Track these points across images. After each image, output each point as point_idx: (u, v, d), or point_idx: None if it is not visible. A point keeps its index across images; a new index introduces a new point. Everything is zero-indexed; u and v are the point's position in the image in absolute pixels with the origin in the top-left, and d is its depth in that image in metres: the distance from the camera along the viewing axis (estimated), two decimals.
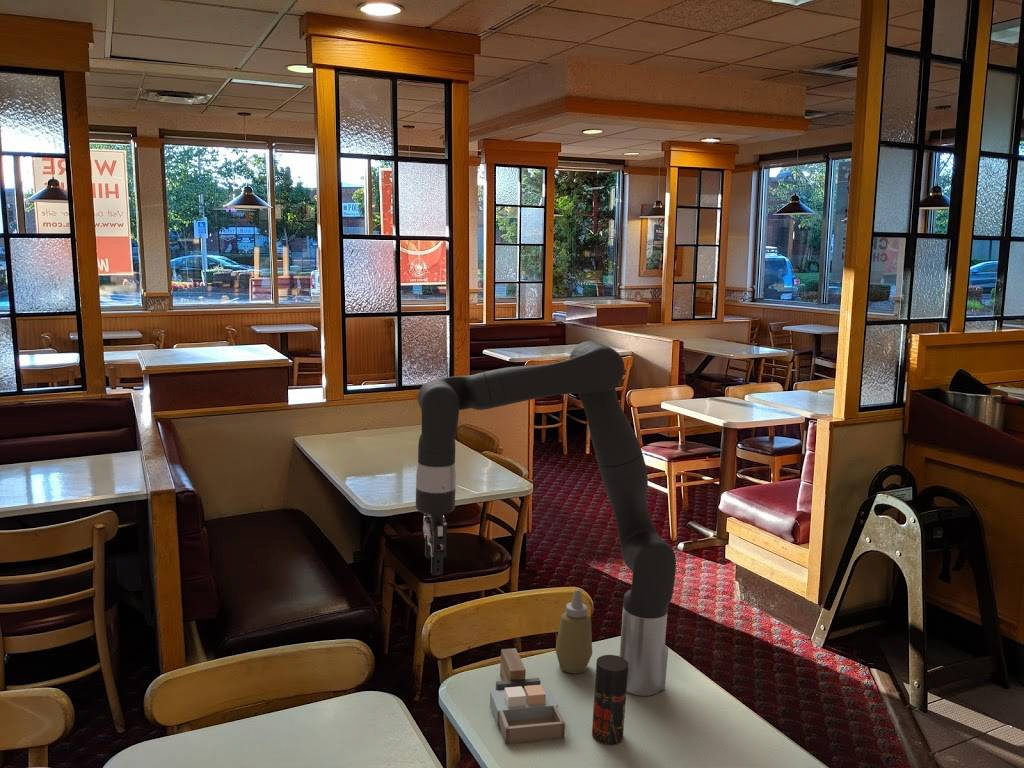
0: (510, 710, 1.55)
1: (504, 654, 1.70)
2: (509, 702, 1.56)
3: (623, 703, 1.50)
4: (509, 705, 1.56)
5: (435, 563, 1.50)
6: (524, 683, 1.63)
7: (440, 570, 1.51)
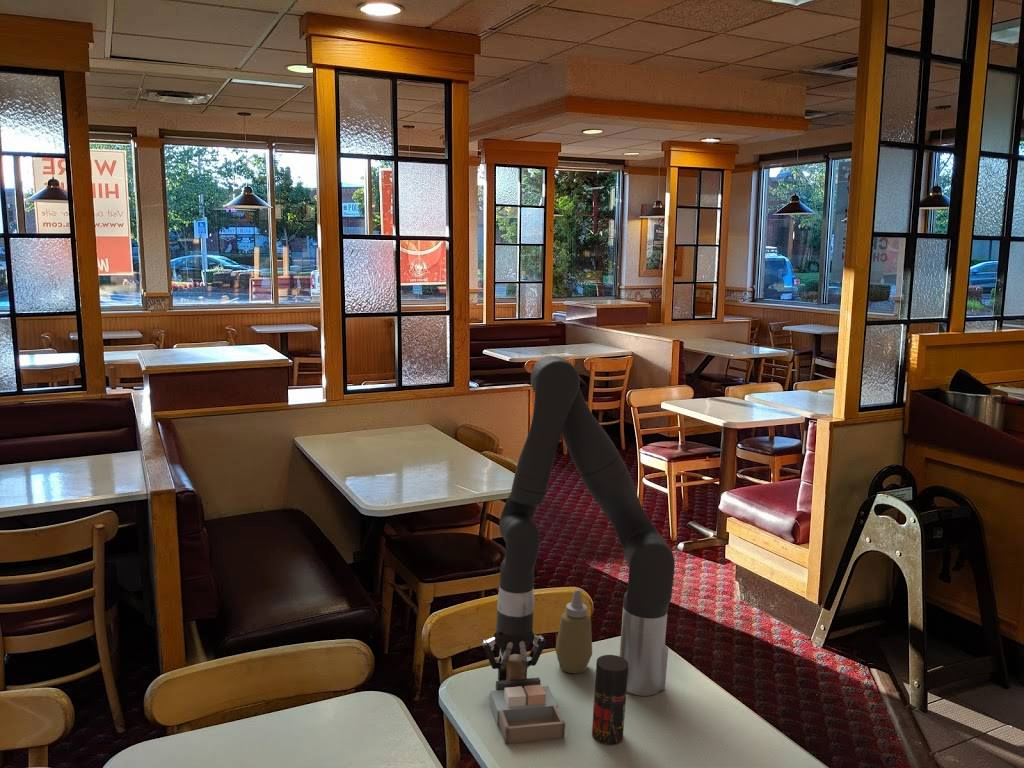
0: (510, 710, 1.55)
1: None
2: (509, 702, 1.56)
3: (623, 703, 1.50)
4: (509, 705, 1.56)
5: None
6: (524, 683, 1.63)
7: None
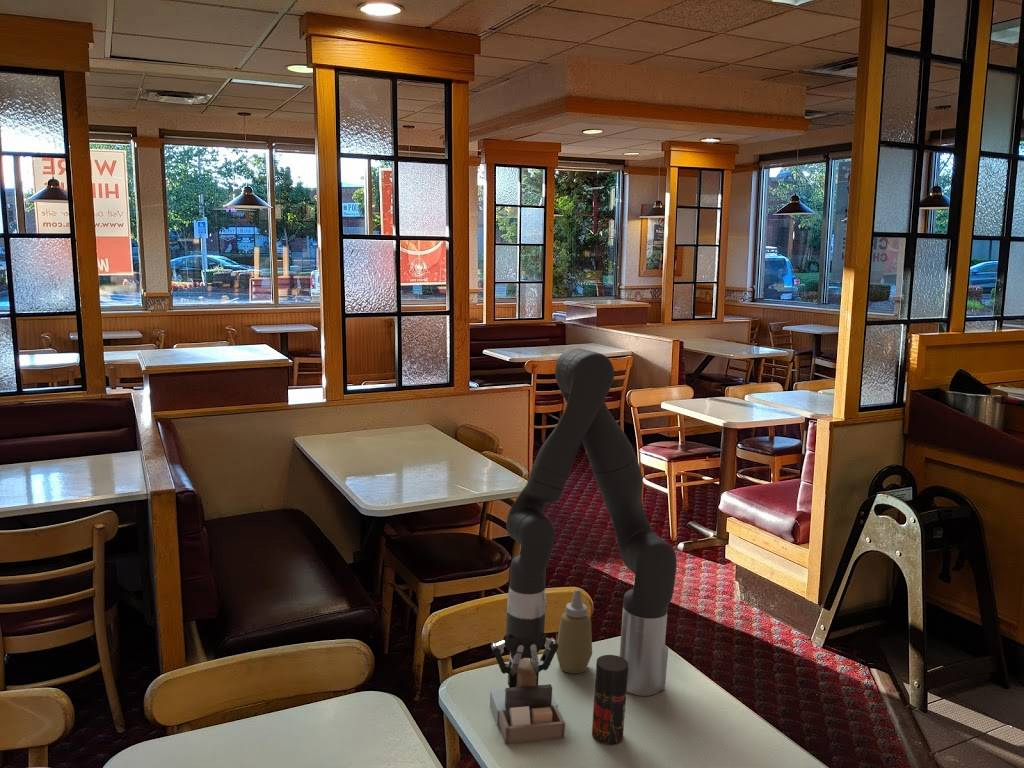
0: None
1: None
2: None
3: (623, 703, 1.50)
4: None
5: None
6: (535, 690, 1.55)
7: None
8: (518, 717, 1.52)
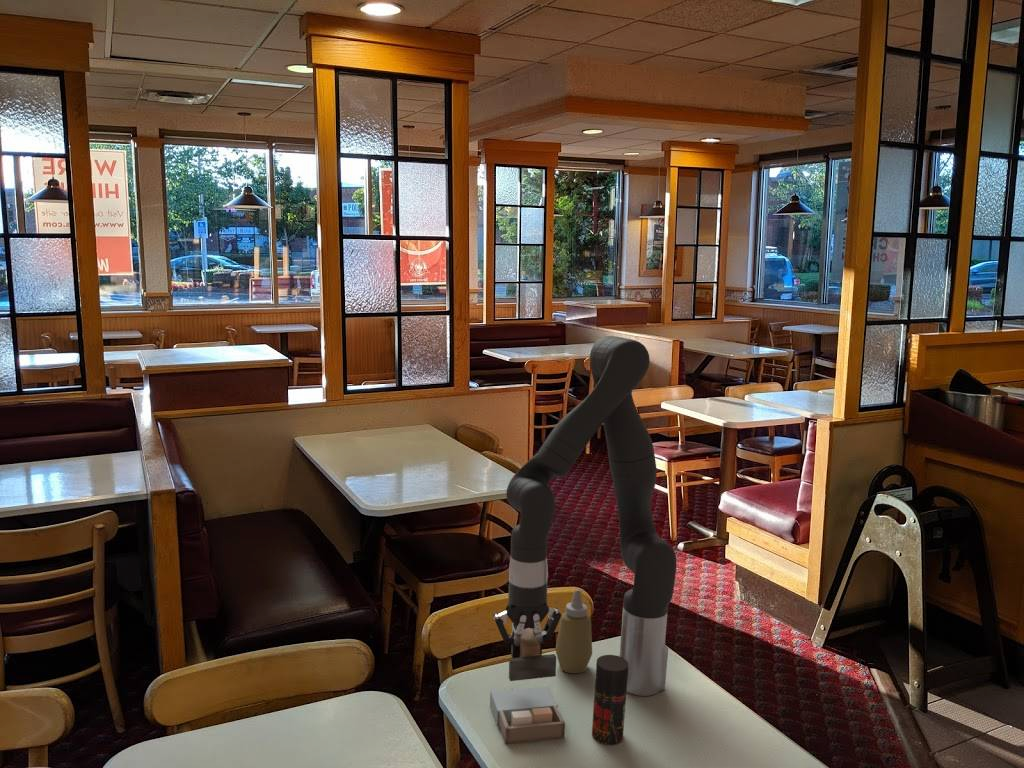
0: (510, 710, 1.55)
1: None
2: None
3: (623, 703, 1.50)
4: None
5: None
6: (539, 660, 1.54)
7: None
8: None
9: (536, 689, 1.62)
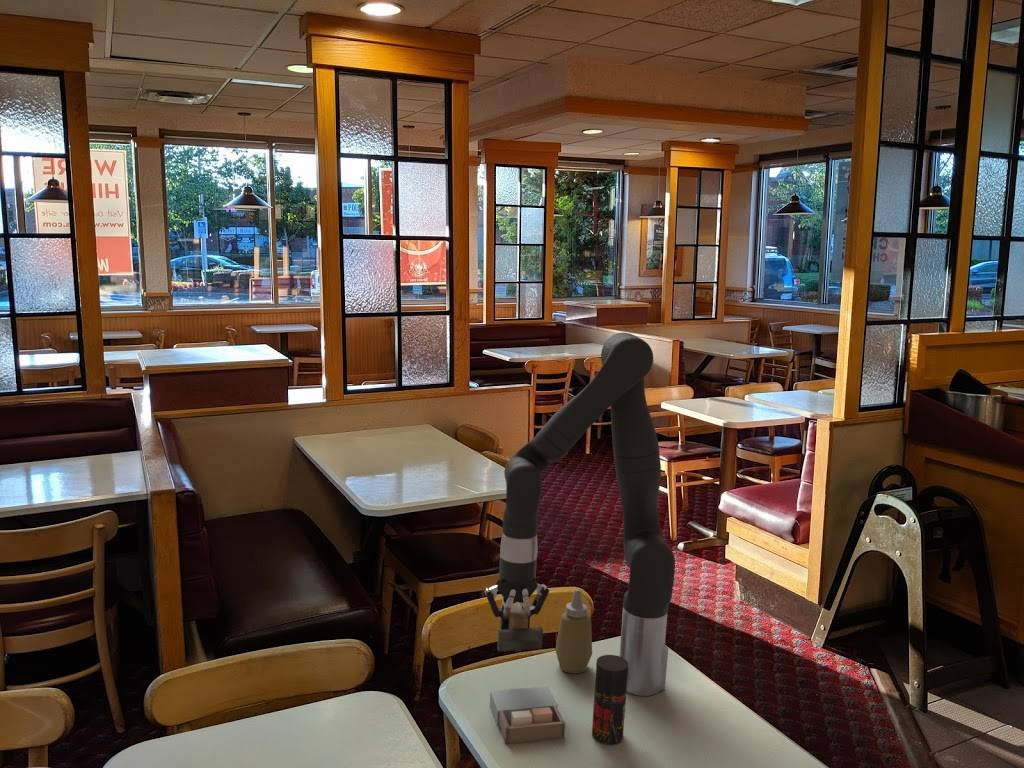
0: (510, 710, 1.55)
1: None
2: None
3: (623, 703, 1.50)
4: None
5: None
6: (526, 632, 1.62)
7: None
8: None
9: (536, 689, 1.62)
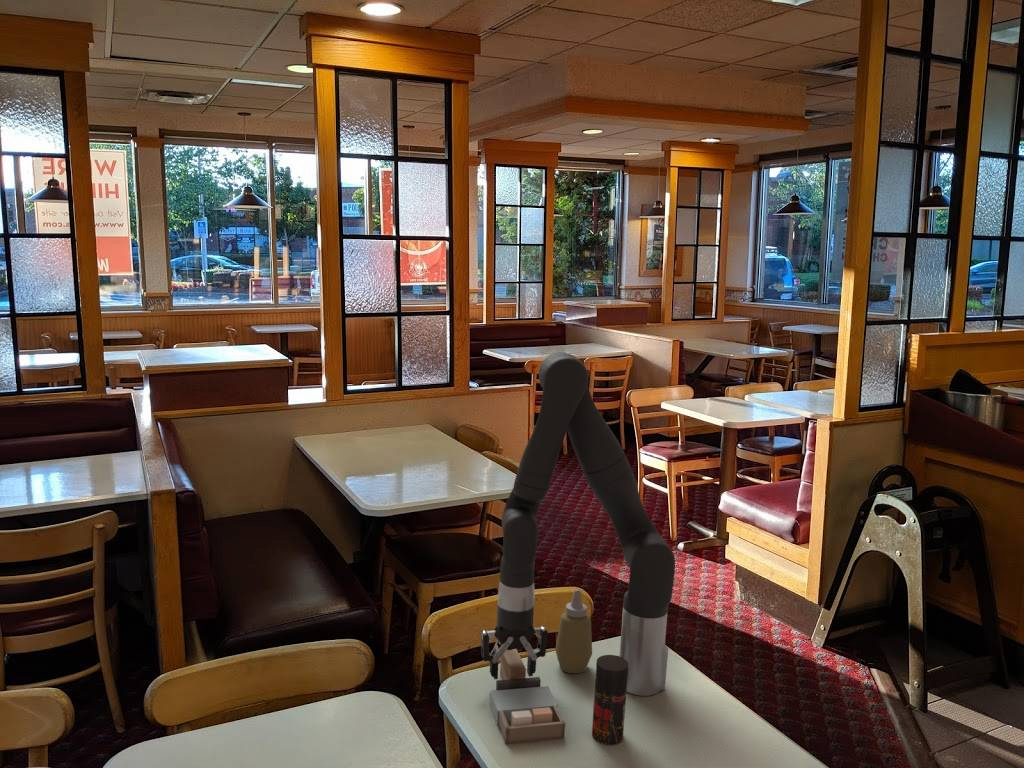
0: (510, 710, 1.55)
1: (504, 653, 1.70)
2: None
3: (623, 703, 1.50)
4: None
5: None
6: (524, 682, 1.63)
7: None
8: None
9: (536, 689, 1.62)
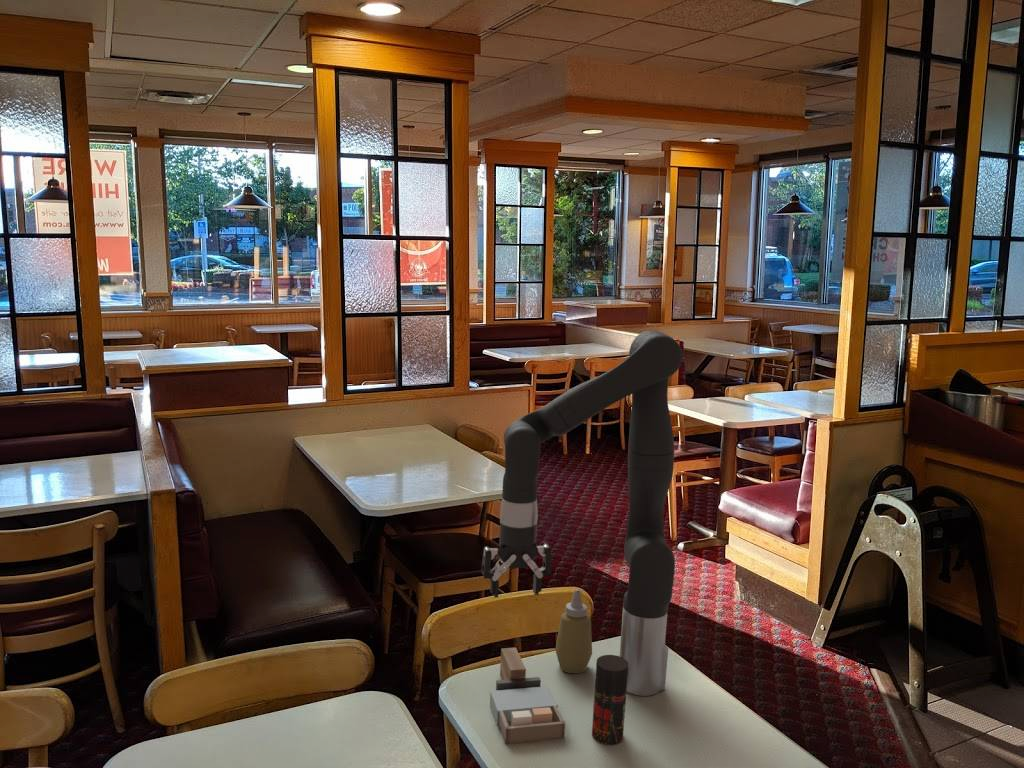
0: (510, 710, 1.55)
1: (504, 653, 1.70)
2: None
3: (623, 703, 1.50)
4: None
5: None
6: (524, 682, 1.63)
7: None
8: None
9: (536, 689, 1.62)
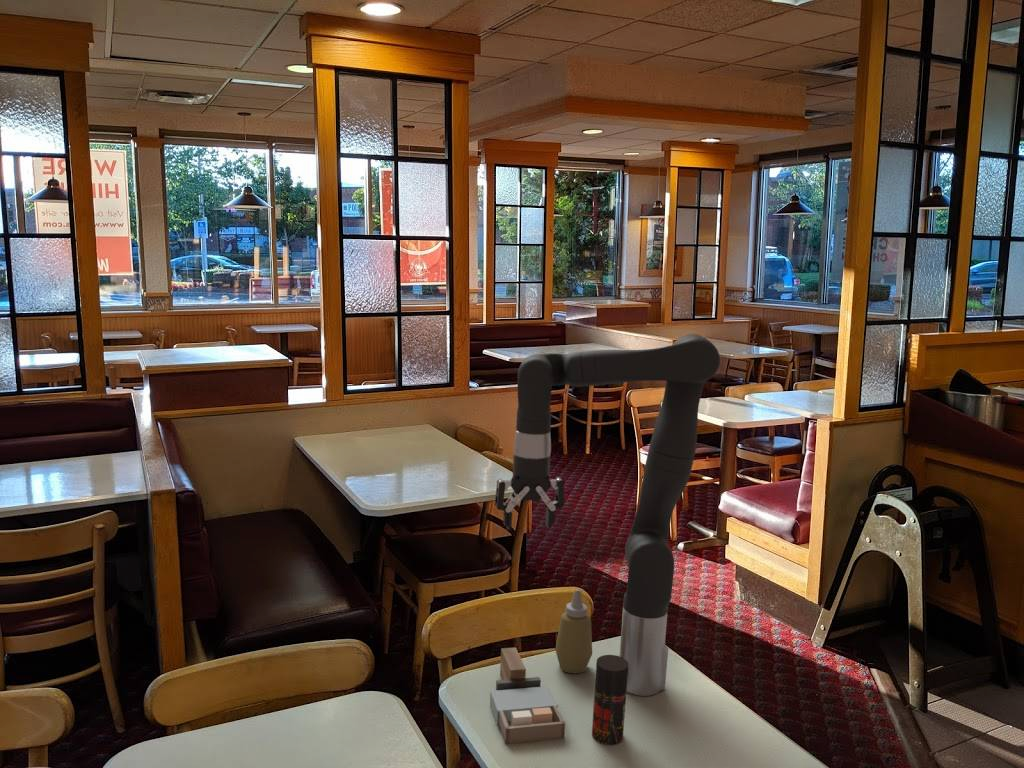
0: (510, 710, 1.55)
1: (504, 653, 1.70)
2: None
3: (623, 703, 1.50)
4: None
5: None
6: (524, 682, 1.63)
7: None
8: None
9: (536, 689, 1.62)
